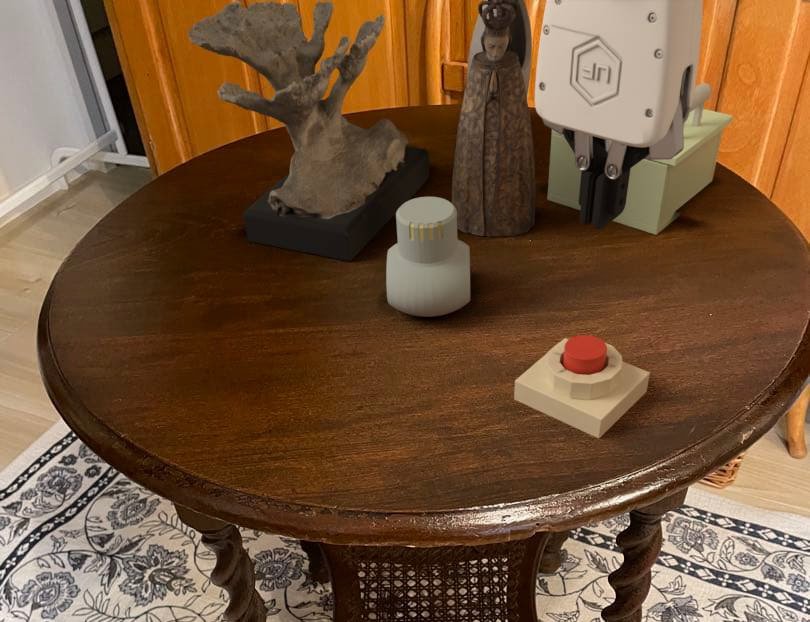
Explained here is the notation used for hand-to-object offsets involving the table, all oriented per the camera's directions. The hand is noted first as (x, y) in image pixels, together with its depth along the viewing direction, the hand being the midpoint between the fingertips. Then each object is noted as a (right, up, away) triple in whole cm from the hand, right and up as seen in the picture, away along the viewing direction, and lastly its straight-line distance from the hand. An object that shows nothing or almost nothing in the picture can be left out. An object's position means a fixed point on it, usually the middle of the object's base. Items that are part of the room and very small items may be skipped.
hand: (600, 218), depth 66 cm
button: (+1, -9, +10) cm, 14 cm away
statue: (-5, +12, +34) cm, 36 cm away
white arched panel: (-3, +26, +47) cm, 54 cm away
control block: (+1, -11, +13) cm, 17 cm away
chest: (+12, +17, +37) cm, 42 cm away
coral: (-26, +15, +39) cm, 49 cm away
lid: (+12, +22, +31) cm, 39 cm away
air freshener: (-12, 0, +25) cm, 28 cm away
